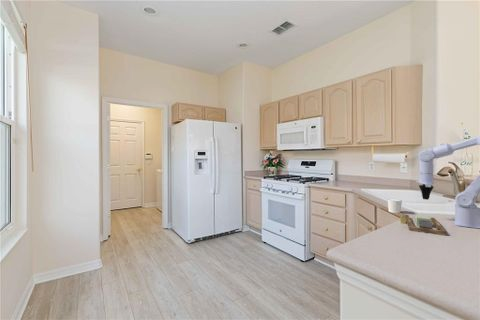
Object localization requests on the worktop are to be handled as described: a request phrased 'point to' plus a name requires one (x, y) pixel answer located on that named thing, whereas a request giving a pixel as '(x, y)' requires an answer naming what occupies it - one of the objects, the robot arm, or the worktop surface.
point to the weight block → (425, 224)
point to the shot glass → (394, 205)
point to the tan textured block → (402, 218)
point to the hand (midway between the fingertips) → (425, 199)
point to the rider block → (421, 219)
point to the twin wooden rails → (426, 230)
